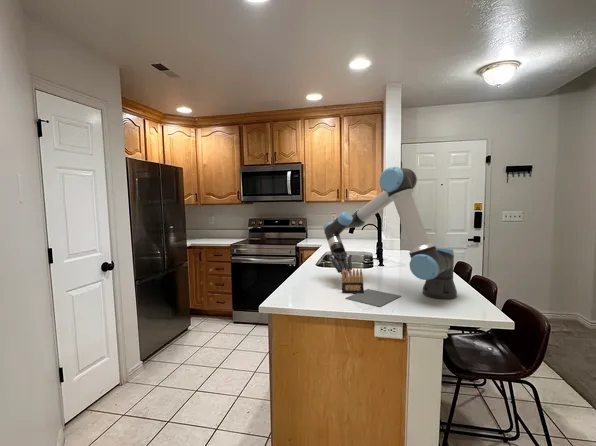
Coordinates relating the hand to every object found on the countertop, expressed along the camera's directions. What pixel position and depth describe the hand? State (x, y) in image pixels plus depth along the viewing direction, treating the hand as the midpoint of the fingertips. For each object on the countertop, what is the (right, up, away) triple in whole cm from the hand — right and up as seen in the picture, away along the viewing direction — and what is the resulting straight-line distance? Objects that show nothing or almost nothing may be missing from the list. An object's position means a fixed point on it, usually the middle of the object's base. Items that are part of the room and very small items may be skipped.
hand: (349, 283), depth 159 cm
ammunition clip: (+1, -4, -3) cm, 5 cm away
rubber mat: (+9, -5, -11) cm, 15 cm away
